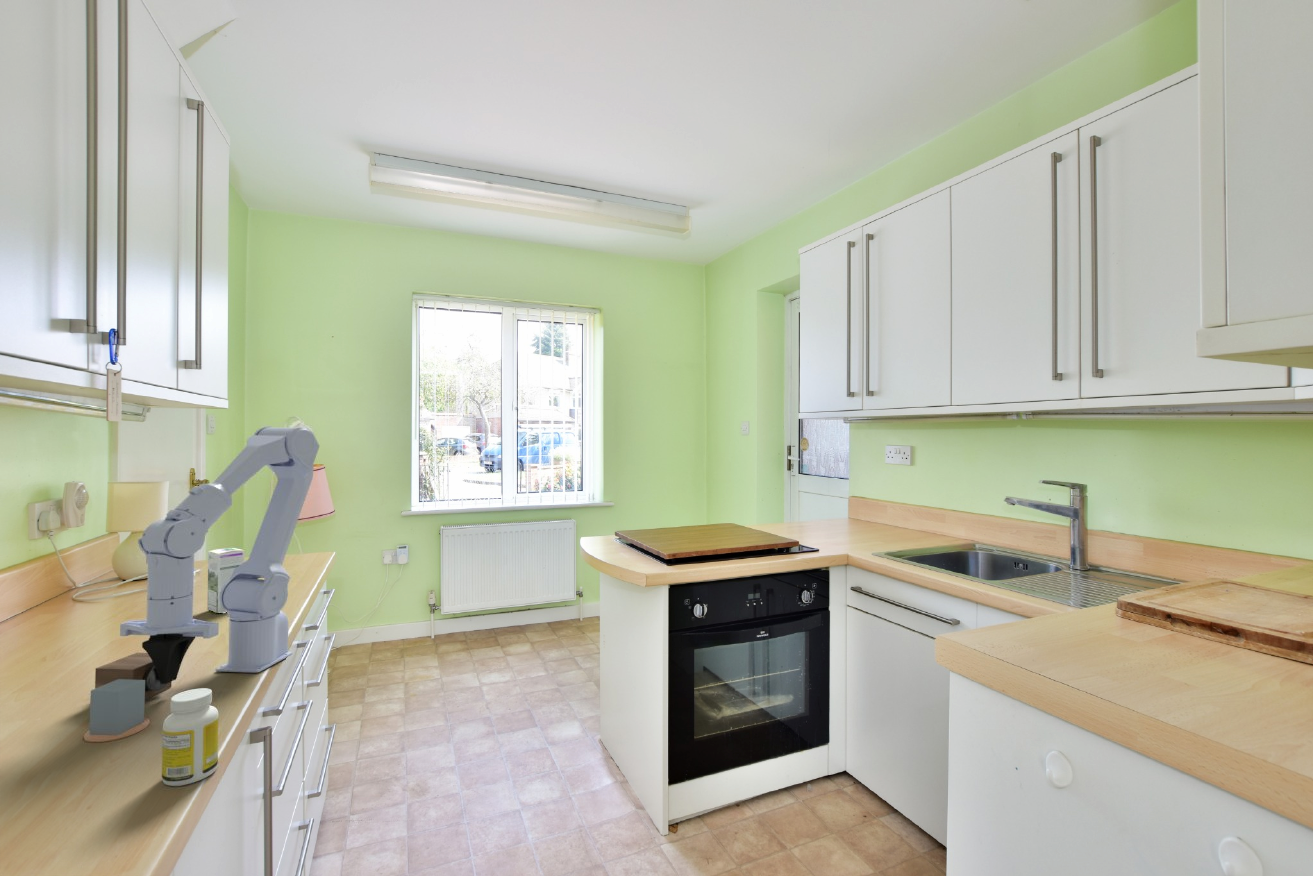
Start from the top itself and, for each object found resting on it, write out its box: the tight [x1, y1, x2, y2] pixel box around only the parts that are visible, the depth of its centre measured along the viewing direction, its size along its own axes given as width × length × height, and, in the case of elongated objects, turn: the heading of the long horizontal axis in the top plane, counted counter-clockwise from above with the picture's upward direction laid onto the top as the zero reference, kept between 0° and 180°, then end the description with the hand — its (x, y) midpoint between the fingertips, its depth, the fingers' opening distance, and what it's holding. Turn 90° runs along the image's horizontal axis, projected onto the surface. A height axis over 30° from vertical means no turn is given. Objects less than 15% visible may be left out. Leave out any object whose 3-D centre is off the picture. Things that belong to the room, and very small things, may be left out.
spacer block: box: [89, 679, 146, 736], centre depth 83 cm, size 4×4×6 cm
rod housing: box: [94, 652, 173, 700], centre depth 94 cm, size 7×6×6 cm
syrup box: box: [207, 547, 245, 614], centre depth 142 cm, size 6×6×14 cm
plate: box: [83, 717, 150, 743], centre depth 83 cm, size 7×7×1 cm
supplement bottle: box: [161, 687, 219, 787], centre depth 73 cm, size 5×5×10 cm
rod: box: [143, 665, 168, 691], centre depth 94 cm, size 4×8×4 cm, turn 88°
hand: (168, 681), depth 94 cm, fingers closed
